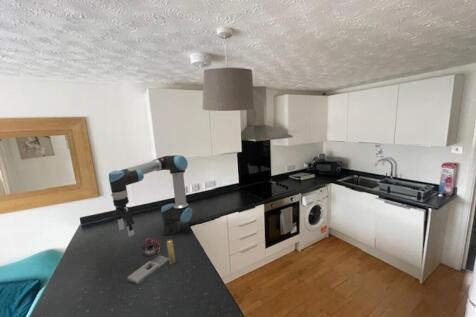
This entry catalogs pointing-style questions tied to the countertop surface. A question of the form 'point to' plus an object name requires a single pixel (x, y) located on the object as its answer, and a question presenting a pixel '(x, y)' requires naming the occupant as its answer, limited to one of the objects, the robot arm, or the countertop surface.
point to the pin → (170, 251)
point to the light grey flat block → (142, 273)
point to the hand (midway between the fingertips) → (126, 232)
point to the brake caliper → (150, 247)
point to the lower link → (159, 260)
